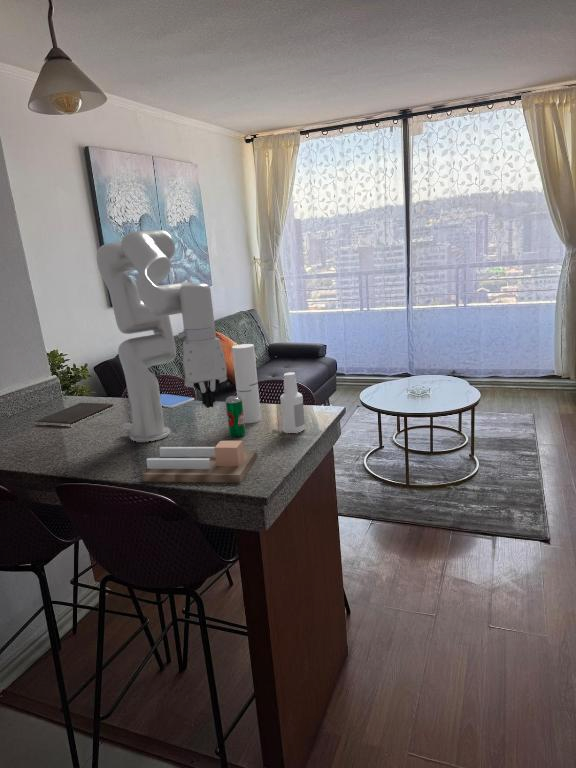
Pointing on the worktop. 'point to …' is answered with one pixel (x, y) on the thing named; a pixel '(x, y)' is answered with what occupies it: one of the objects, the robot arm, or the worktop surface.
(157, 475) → the board
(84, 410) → the hardcover book
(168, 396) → the tablet computer
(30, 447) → the worktop surface
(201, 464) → the channel
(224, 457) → the block
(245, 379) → the cylindrical container
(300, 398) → the white bottle
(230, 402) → the soda can
